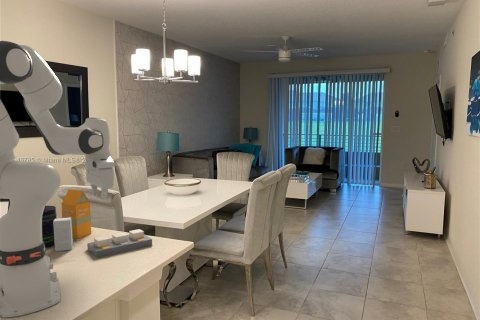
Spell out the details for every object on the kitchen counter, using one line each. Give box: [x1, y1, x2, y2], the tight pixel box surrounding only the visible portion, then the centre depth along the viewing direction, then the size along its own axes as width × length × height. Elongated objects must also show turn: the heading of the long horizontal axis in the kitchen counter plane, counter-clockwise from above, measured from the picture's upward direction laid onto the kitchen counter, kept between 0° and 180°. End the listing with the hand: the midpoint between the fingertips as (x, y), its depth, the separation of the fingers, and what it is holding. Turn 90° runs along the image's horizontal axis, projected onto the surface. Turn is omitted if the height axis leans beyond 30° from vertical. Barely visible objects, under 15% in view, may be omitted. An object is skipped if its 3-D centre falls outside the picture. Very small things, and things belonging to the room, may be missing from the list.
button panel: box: [87, 234, 153, 259], centre depth 145 cm, size 11×22×3 cm, turn 129°
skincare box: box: [53, 217, 74, 252], centre depth 142 cm, size 6×4×12 cm
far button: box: [128, 228, 145, 240], centre depth 149 cm, size 4×4×3 cm
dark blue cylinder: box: [42, 205, 57, 249], centre depth 146 cm, size 10×10×15 cm
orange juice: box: [60, 189, 92, 239], centre depth 158 cm, size 8×9×20 cm
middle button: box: [111, 231, 128, 244], centre depth 145 cm, size 4×4×3 cm
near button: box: [93, 235, 111, 248], centre depth 140 cm, size 4×4×3 cm
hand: (99, 197), depth 138 cm, fingers open, 8 cm apart
